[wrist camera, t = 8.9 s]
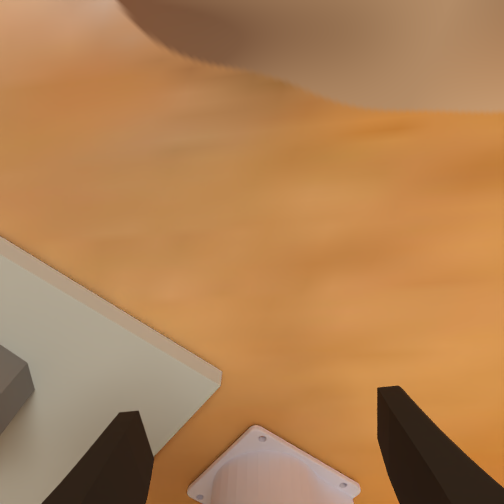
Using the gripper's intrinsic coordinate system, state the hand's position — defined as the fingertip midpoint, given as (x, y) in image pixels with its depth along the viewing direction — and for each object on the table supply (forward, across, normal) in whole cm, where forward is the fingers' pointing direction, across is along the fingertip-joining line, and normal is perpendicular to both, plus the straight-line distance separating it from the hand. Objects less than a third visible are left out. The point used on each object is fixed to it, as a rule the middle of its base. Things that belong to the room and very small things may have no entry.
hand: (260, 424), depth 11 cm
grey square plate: (+9, +15, +6) cm, 19 cm away
